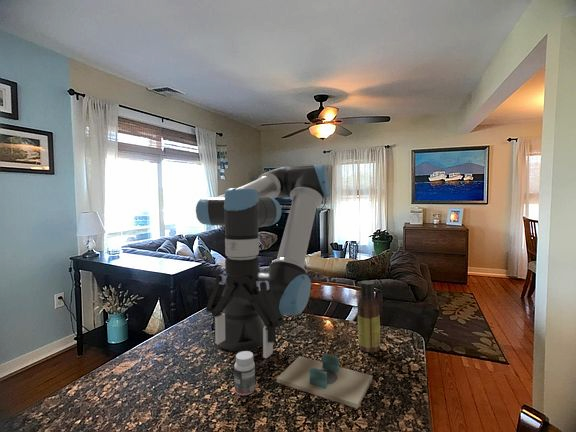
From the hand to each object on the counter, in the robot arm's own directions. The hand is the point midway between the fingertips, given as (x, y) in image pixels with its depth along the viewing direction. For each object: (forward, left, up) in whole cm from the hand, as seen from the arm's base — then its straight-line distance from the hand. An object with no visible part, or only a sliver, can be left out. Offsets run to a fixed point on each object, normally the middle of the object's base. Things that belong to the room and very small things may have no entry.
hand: (243, 348), depth 73 cm
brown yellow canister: (+20, +33, -10) cm, 40 cm away
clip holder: (+15, +12, -10) cm, 22 cm away
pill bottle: (0, 0, -10) cm, 10 cm away
